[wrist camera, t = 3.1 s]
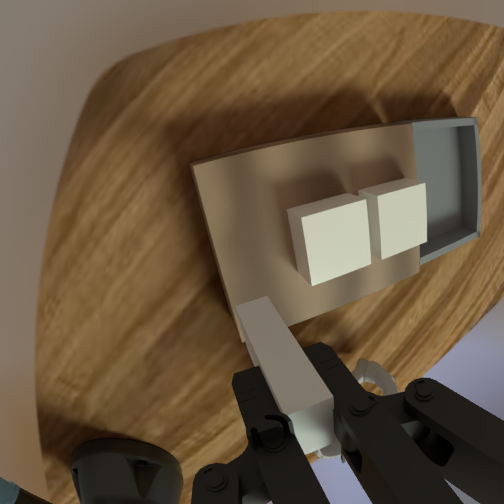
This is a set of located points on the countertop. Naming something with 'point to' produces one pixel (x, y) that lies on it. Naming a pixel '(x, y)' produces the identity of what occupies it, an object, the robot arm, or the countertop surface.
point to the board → (289, 196)
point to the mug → (365, 372)
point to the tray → (448, 181)
